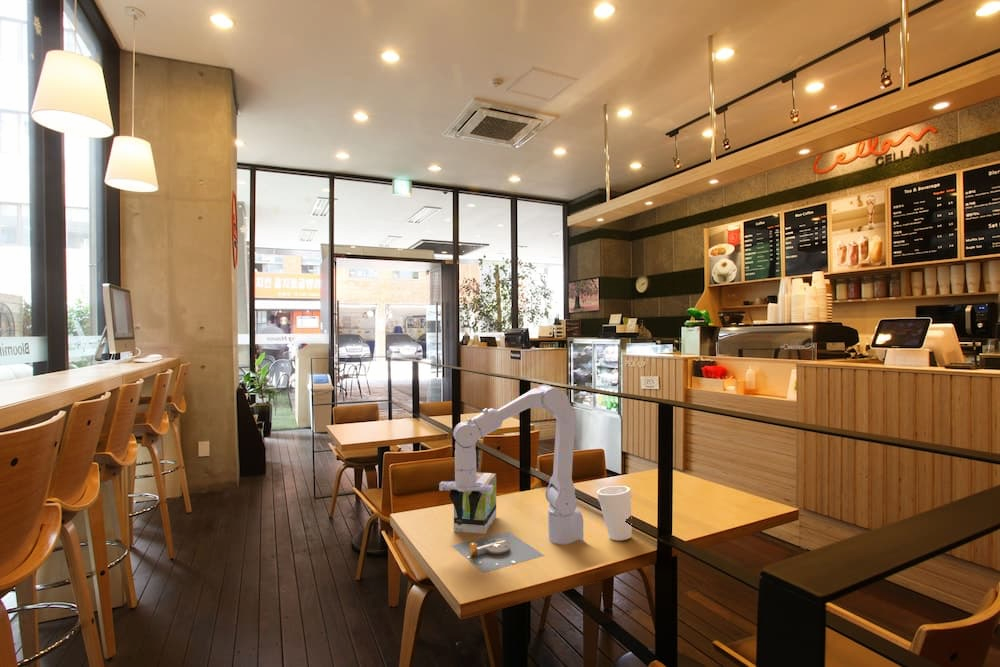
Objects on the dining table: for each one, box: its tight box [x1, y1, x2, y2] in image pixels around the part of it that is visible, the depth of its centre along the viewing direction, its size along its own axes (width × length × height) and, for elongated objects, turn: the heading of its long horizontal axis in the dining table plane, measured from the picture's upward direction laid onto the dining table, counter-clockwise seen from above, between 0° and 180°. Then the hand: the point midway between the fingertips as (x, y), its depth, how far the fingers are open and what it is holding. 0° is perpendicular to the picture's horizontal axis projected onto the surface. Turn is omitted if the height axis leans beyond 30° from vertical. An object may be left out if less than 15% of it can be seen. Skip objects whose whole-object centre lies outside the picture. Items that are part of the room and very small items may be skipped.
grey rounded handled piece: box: [470, 538, 510, 557], centre depth 135 cm, size 12×7×3 cm, turn 120°
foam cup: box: [596, 485, 633, 541], centre depth 147 cm, size 10×9×13 cm
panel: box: [451, 531, 545, 574], centre depth 137 cm, size 18×18×1 cm
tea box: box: [453, 471, 497, 535], centre depth 156 cm, size 15×10×15 cm, turn 168°
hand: (466, 518), depth 137 cm, fingers open, 3 cm apart
